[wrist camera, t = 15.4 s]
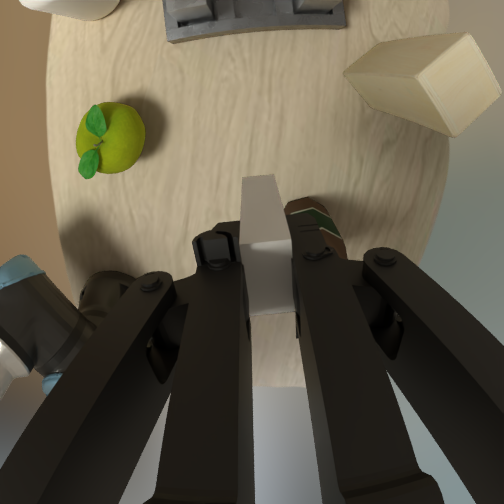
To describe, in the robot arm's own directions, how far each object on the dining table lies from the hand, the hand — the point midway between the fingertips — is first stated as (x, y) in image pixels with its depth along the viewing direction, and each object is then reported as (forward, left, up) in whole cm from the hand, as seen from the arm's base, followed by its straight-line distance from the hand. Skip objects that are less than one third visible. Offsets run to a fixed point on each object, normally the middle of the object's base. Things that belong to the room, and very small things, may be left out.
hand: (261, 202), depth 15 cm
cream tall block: (+18, +6, -30) cm, 35 cm away
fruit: (-18, +2, -30) cm, 35 cm away
